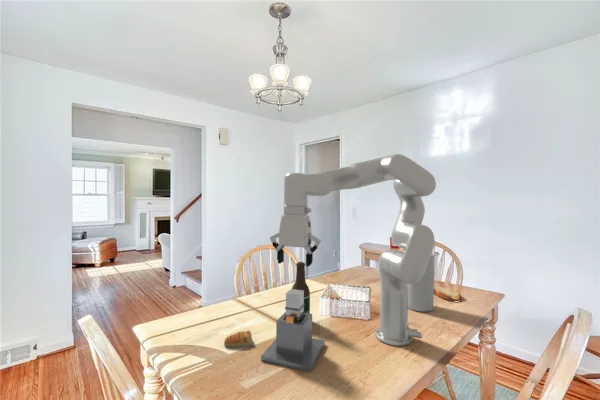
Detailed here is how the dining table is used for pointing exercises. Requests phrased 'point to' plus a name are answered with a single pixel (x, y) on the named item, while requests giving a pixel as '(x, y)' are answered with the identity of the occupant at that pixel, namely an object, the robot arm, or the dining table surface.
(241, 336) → the pastry
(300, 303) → the column
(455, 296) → the slice of bread
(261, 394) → the dining table surface
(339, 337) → the dining table surface
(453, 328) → the dining table surface
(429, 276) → the cylinder vase
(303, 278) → the beer bottle
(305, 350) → the stand
